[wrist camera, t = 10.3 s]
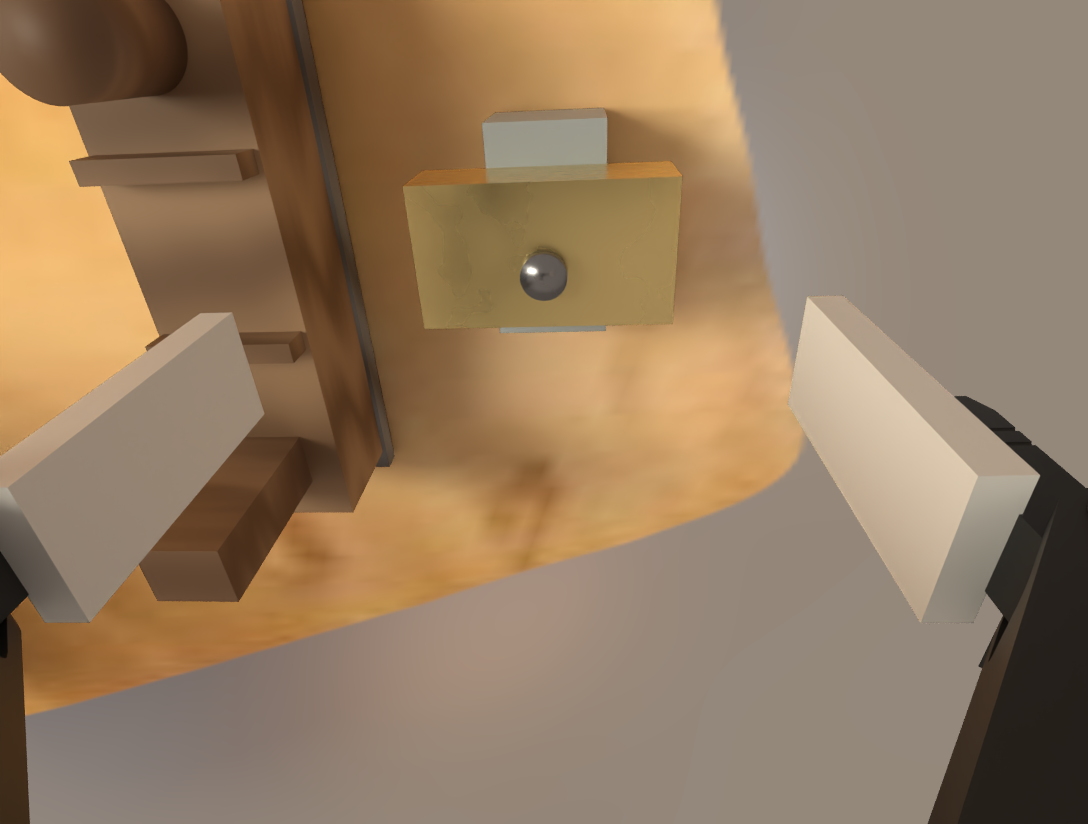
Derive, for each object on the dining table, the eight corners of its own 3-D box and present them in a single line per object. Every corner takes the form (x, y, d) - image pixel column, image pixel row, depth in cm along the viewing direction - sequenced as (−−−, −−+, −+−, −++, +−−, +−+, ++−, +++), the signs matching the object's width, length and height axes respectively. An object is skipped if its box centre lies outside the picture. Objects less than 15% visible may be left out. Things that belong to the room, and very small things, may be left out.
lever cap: (663, 294, 25) (674, 330, 21) (440, 300, 25) (420, 335, 22) (670, 161, 22) (685, 179, 19) (422, 170, 23) (398, 190, 19)
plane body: (394, 456, 34) (304, 654, 23) (283, 456, 35) (141, 651, 24) (282, -96, 22) (-25, -241, 11) (112, -85, 22) (-352, -213, 11)
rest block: (509, 299, 29) (500, 332, 26) (495, 112, 25) (482, 123, 22) (602, 297, 29) (605, 330, 25) (603, 107, 25) (607, 117, 21)
